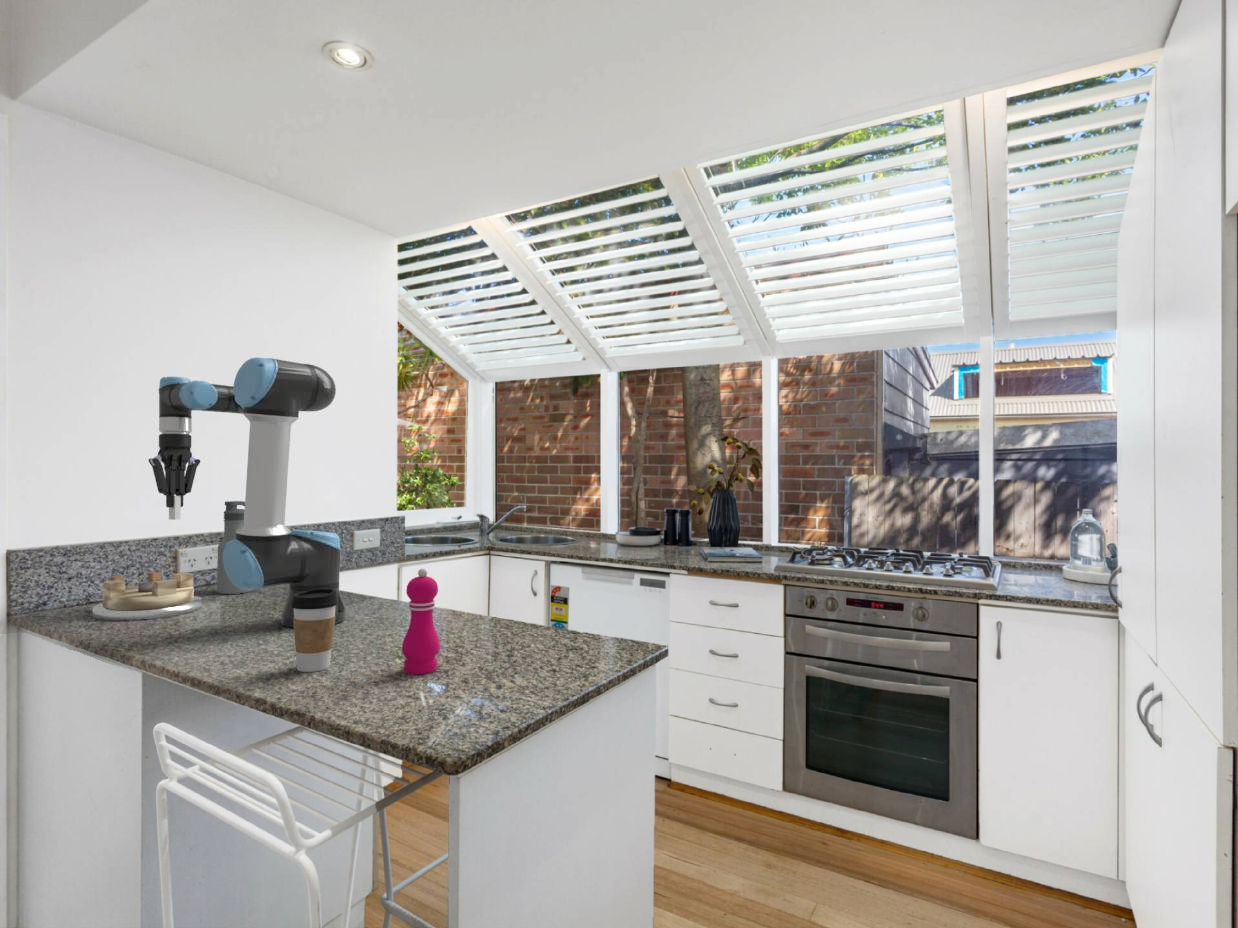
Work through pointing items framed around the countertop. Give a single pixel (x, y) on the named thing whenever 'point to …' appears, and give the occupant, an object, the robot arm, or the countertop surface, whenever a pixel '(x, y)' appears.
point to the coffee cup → (314, 628)
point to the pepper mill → (421, 626)
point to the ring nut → (148, 592)
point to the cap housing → (146, 611)
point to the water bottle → (231, 524)
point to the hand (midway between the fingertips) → (174, 519)
